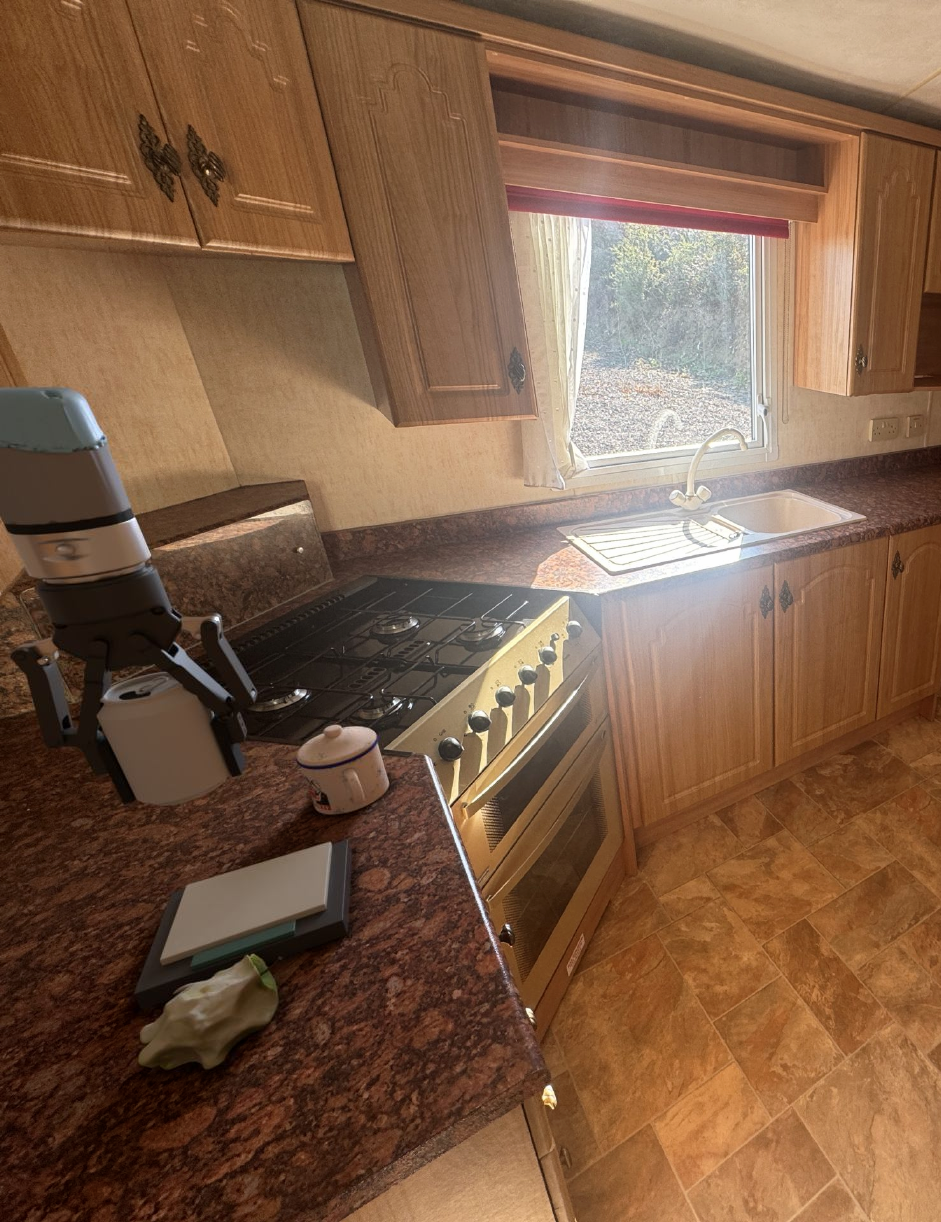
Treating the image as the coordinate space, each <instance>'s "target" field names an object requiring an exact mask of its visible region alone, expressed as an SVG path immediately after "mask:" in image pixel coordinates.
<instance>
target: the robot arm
mask: <svg viewBox="0 0 941 1222" xmlns="http://www.w3.org/2000/svg"><path fill="white" fill-rule="evenodd" d="M107 441H108V438H107V436H106V434H105V433H104V431H103V430H102V429H101V428H100V426H99V424H98V422H97V420H96V417H95V416H94V414H93V412H92V409H91V407H90V405H89V403H88V401H87V399H86V398H85V397H84V396H83V395H82V394H81V393H79V392H78V391H76V390H74V389H72V388H68V387H61V386H38V387H37V386H0V519H1V521H2V523H3V525H4V527H5V530H6V532H7V533H8V536H9V538H10V540H11V542H12V544H13V546H14V548H15V550H16V553H17V555H18V556H19V559H20V561H21V562H22V565H23V566H24V568H25V571H26V573H27V575H28V576H29V577H32V578H35V579H38V581H36V584H35V585H34V590H35V593H36V594H37V596H38V598H39V600H40V603H41V605H42V607H43V609H44V611H45V613H46V615H47V617H48V619H49V621H50V623H51V624H52V626H53V633H52V635H51V637H47V638H44V639H41V640H35V639H30V640H25V641H24V642H22V644H20V645H19V646H18V647H17V648H16V649H14V650H13V651H12V652H11V653H10V655H9V657H10V659H11V661H12V662H13V663H14V664H15V665H16V666H17V667H18V669H20V671H21V672H22V673H23V674H24V675H25V677H26V680H27V685H28V688H29V692H30V695H31V699H32V703H33V707H34V711H35V714H36V718H37V722H38V725H39V729H40V733H41V737H42V740H43V744H44V746H45V747H46V748H49V749H52V750H57V749H60V748H62V747H75V748H78V749H80V750H81V752H82V754H83V755H84V758H85V760H86V761H87V763H88V765H89V768H90V769H91V772H92V773H93V774H95V775H96V776H103V775H106V774H108V776H109V777H110V780H111V782H112V783H113V785H114V788H115V790H116V792H117V794H118V796H119V798H120V800H121V802H122V804H123V805H127V804H131V803H134V802H135V801H137V799H136V797H135V795H134V793H133V791H132V789H131V787H130V785H129V782H128V780H127V778H126V776H125V774H124V772H123V770H122V768H121V766H120V764H119V762H118V760H117V758H116V756H115V753H114V751H113V749H112V747H111V745H110V743H109V741H108V739H107V737H106V735H105V734H103V733H104V731H103V729H102V726H101V724H100V722H99V720H98V718H97V714H98V713H99V712H100V709H101V707H102V704H103V702H100V699H102V698H103V696H104V695H105V694H106V693H107V691H108V690H109V689H110V687H111V684H112V679H113V674H114V673H113V672H117V671H122V670H124V669H125V670H126V669H127V668H131V667H145V666H152V665H154V666H155V667H157V668H158V669H159V670H160V671H161V672H167V673H169V674H170V675H171V676H172V677H173V678H174V679H176V680H177V681H178V682H179V683H180V684H183V686H184V687H185V688H186V689H187V690H188V691H190V692H191V693H192V694H194V695H197V697H198V699H199V700H200V701H201V702H202V703H203V704H205V705H206V706H207V707H208V708H209V709H210V710H212V711H213V713H214V717H213V719H212V722H211V726H212V728H213V731H214V733H215V736H216V738H217V741H218V743H219V746H220V748H221V750H222V753H223V755H224V758H225V760H226V763H227V765H228V768H229V770H230V773H231V774H230V775H231V777H232V778H235V777H239V776H243V774H244V773H243V772H244V769H245V766H246V762H247V761H246V759H245V756H244V753H243V751H242V749H241V746H240V743H244V742H245V741H246V737H247V734H248V729H247V727H246V723H245V722H244V719H243V717H242V714H241V711H243V710H245V709H250V708H253V706H254V705H255V702H256V700H257V697H258V689H256V687H255V685H254V684H253V682H252V680H251V678H250V676H249V675H248V674H247V672H246V670H245V668H244V667H243V664H241V662H240V660H239V658H238V657H237V655H236V653H235V652H234V650H233V649H232V646H231V645H230V644H229V642H228V640H227V638H226V637H225V635H224V630H223V617H222V616H221V614H219V613H218V612H210V613H208V614H207V615H205V616H183V615H182V614H181V613H180V612H178V611H177V610H176V609H175V608H174V607H173V605H172V604H171V602H170V600H169V597H168V594H167V592H166V590H165V587H164V584H163V582H162V579H161V577H160V575H159V572H158V568H157V567H156V566H155V565H152V564H151V563H150V562H147V561H148V560H149V559H150V558H151V557H152V553H151V551H150V549H149V547H148V545H147V542H146V539H145V537H144V535H143V532H142V530H141V528H140V525H139V523H138V521H137V518H136V516H135V514H134V512H133V509H132V506H131V503H130V500H129V497H128V494H127V493H126V490H125V487H124V485H123V482H122V480H121V477H120V474H119V472H118V469H117V466H116V464H115V461H114V457H113V455H112V453H111V450H110V448H109V445H108V442H107ZM181 630H182V631H186V632H188V633H190V635H191V637H192V638H193V639H195V640H199V641H201V645H202V647H203V650H204V651H205V653H206V655H207V657H208V658H209V659H210V661H211V663H212V665H213V666H214V668H215V669H216V671H217V672H218V674H219V676H220V677H221V679H222V680H223V682H224V683H225V685H226V687H227V689H228V690H229V692H230V693H229V692H228V691H227V690H226V689H225V688H224V687H223V686H222V685H220V684H219V683H218V682H217V681H216V680H215V679H214V678H212V676H210V675H209V674H208V673H207V672H206V671H204V669H202V668H201V667H200V666H199V665H198V664H197V663H196V662H195V661H194V660H193V659H191V658H190V657H189V656H188V654H187V652H186V651H185V649H183V647H181V646H180V645H179V644H178V643H177V642H175V641H176V640H177V639H178V636H179V634H180V633H181ZM59 650H61V651H63V652H65V653H66V654H69V655H70V656H73V658H76V659H78V660H80V661H83V662H85V665H84V671H83V673H84V674H83V683H84V684H83V690H82V697H81V705H80V711H79V718H78V723H77V724H78V725H77V727H74V725H73V721H72V716H71V713H70V709H69V705H68V701H67V697H66V693H65V689H64V684H63V681H62V677H61V672H60V669H59V666H58V663H57V660H58V659H59V657H60V654H59Z"/></svg>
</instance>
